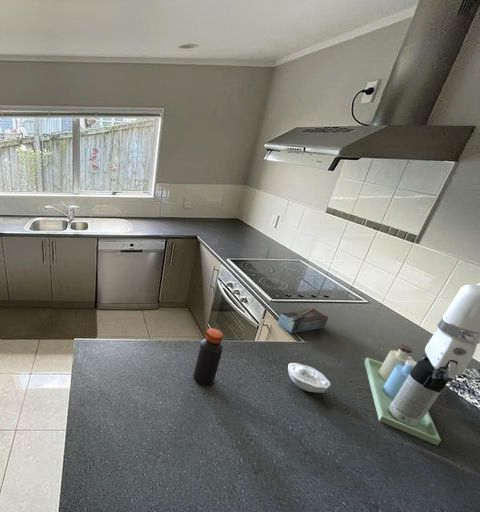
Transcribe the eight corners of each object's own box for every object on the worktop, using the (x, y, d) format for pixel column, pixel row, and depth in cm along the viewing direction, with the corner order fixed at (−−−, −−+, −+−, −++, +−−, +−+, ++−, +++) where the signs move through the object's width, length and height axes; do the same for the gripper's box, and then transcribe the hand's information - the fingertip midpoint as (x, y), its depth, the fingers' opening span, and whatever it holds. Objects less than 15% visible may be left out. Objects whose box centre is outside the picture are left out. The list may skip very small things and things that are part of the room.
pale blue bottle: (404, 393, 95) (424, 362, 89) (409, 405, 90) (430, 373, 85) (380, 384, 98) (398, 353, 92) (384, 395, 93) (403, 364, 88)
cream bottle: (398, 376, 101) (416, 346, 96) (402, 387, 97) (421, 356, 92) (376, 368, 105) (392, 339, 99) (379, 378, 100) (396, 348, 95)
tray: (407, 377, 102) (410, 372, 101) (436, 446, 78) (441, 440, 77) (363, 362, 108) (366, 357, 107) (378, 422, 85) (381, 416, 84)
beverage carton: (276, 323, 130) (280, 311, 128) (309, 318, 135) (313, 307, 132) (290, 333, 123) (295, 321, 121) (325, 328, 127) (330, 316, 125)
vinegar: (196, 368, 102) (206, 323, 94) (215, 377, 98) (228, 331, 91) (190, 380, 97) (201, 334, 89) (210, 390, 93) (223, 342, 86)
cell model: (323, 405, 90) (331, 390, 87) (280, 384, 97) (286, 369, 94) (326, 386, 97) (334, 372, 94) (286, 368, 104) (292, 354, 101)
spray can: (424, 427, 83) (461, 376, 75) (402, 426, 83) (436, 375, 75) (402, 407, 89) (434, 358, 81) (381, 406, 89) (410, 358, 81)
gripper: (499, 355, 65) (458, 409, 72) (468, 319, 78) (435, 368, 85) (451, 341, 69) (416, 394, 76) (429, 310, 82) (401, 357, 89)
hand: (427, 380), depth 80 cm, fingers closed on spray can, 6 cm apart
